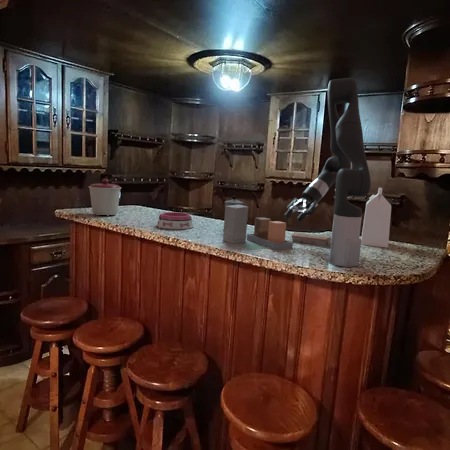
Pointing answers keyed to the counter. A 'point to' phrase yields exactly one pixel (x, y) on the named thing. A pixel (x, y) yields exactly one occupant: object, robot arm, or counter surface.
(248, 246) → the green mat
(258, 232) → the walnut block
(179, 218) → the dog bowl
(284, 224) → the terracotta carton
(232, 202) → the coffeepot
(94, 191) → the canister
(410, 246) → the counter surface
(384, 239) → the milk
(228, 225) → the skincare box
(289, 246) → the grey bin
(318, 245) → the packaged product
